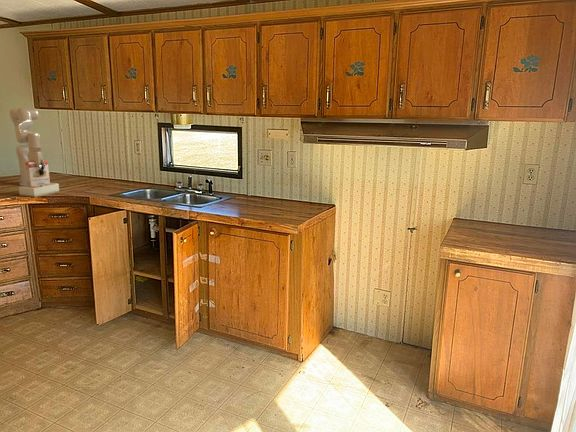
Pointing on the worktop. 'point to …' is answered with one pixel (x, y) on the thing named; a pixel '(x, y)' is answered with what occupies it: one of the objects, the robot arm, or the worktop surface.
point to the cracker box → (36, 175)
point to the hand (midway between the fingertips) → (37, 174)
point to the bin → (39, 190)
